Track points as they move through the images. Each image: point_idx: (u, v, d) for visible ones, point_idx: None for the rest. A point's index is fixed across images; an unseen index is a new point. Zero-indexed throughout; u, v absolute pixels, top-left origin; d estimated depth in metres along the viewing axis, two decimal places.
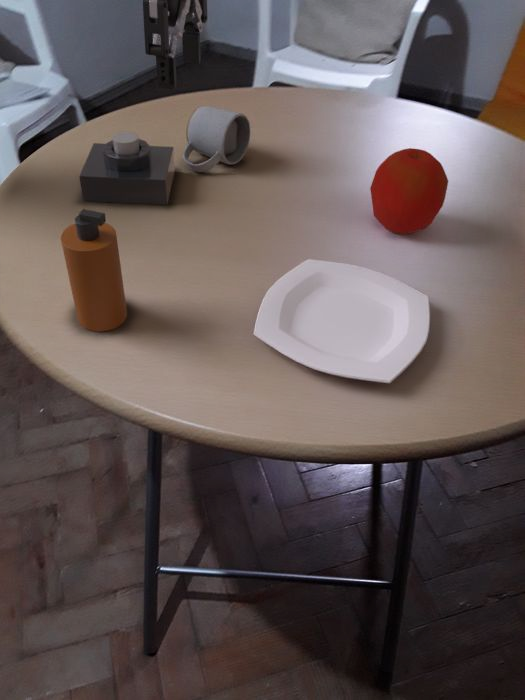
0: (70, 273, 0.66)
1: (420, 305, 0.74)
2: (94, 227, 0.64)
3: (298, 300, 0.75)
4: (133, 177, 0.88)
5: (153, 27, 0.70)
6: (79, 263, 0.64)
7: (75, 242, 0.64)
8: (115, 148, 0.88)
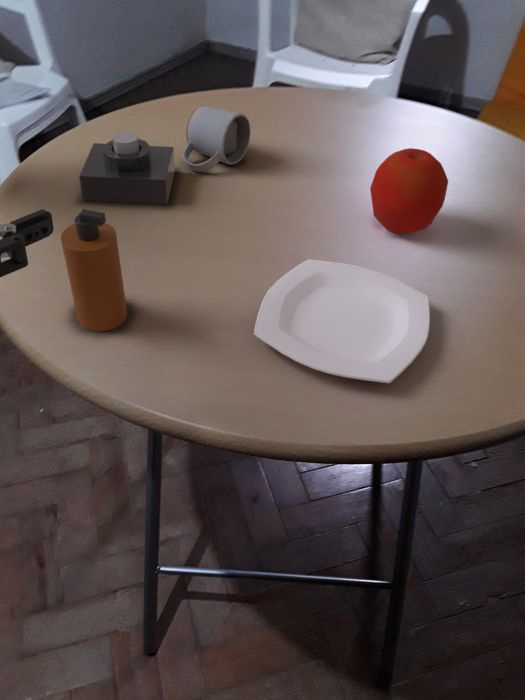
0: (70, 273, 0.66)
1: (420, 305, 0.74)
2: (94, 227, 0.64)
3: (298, 300, 0.75)
4: (133, 177, 0.88)
5: None
6: (79, 263, 0.64)
7: (75, 242, 0.64)
8: (115, 148, 0.88)
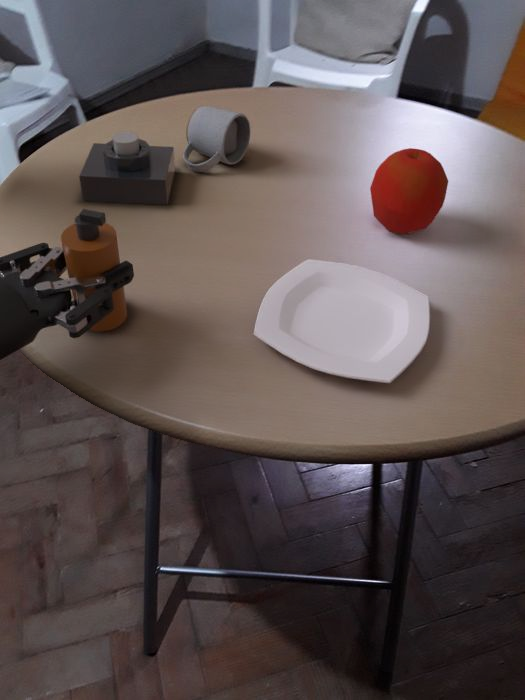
0: (70, 273, 0.66)
1: (420, 305, 0.74)
2: (94, 227, 0.64)
3: (298, 300, 0.75)
4: (133, 177, 0.88)
5: None
6: (79, 263, 0.64)
7: (75, 242, 0.64)
8: (115, 148, 0.88)
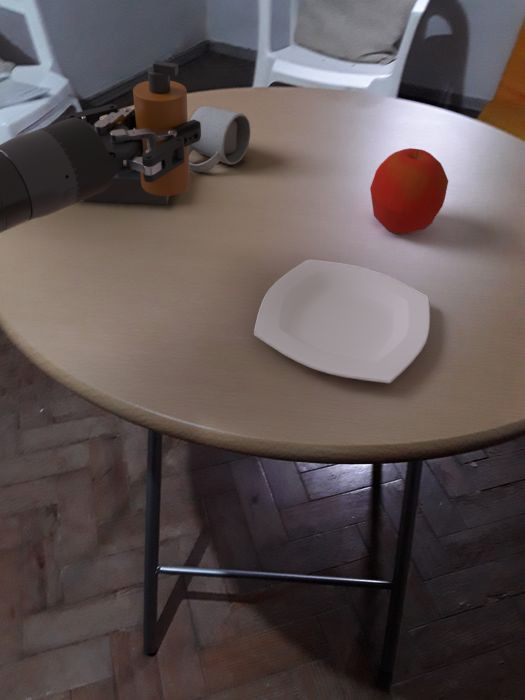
0: None
1: (420, 305, 0.74)
2: (166, 79, 0.65)
3: (298, 300, 0.75)
4: (133, 177, 0.88)
5: None
6: (151, 115, 0.65)
7: (148, 94, 0.65)
8: None
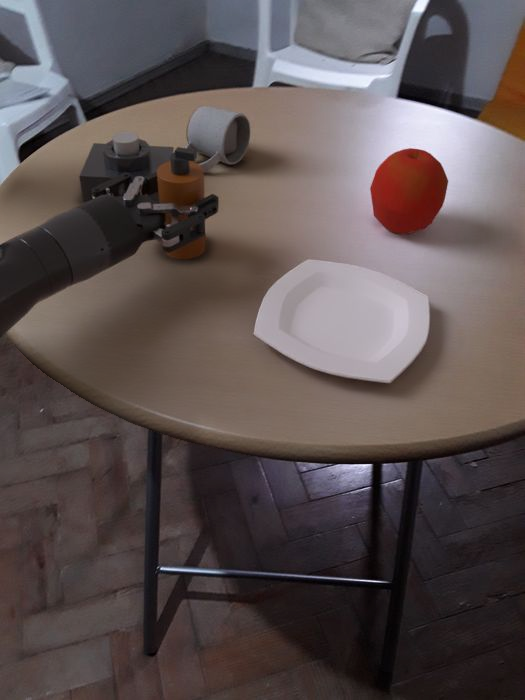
0: None
1: (420, 305, 0.74)
2: (186, 163, 0.74)
3: (298, 300, 0.75)
4: (133, 177, 0.88)
5: None
6: (173, 194, 0.75)
7: (170, 176, 0.74)
8: (115, 148, 0.88)
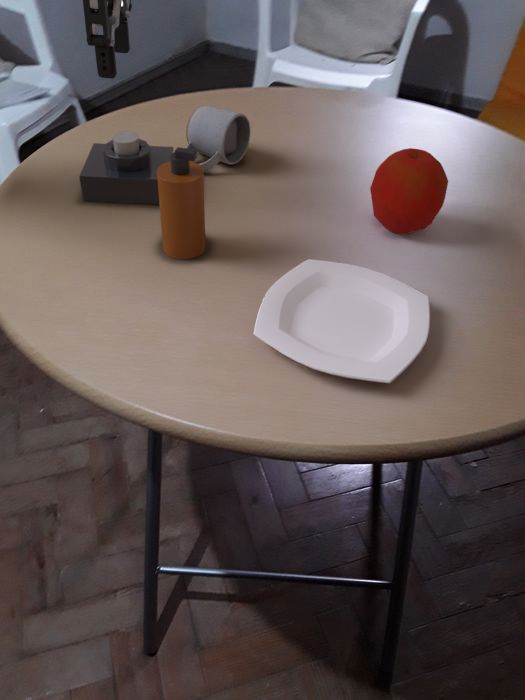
0: (163, 204, 0.77)
1: (420, 305, 0.74)
2: (186, 163, 0.74)
3: (298, 300, 0.75)
4: (133, 177, 0.88)
5: (94, 17, 0.71)
6: (173, 194, 0.75)
7: (170, 176, 0.74)
8: (115, 148, 0.88)
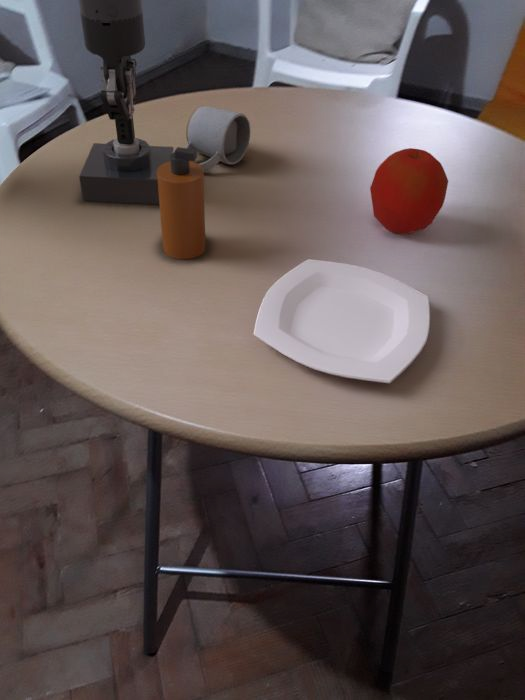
0: (163, 204, 0.77)
1: (420, 305, 0.74)
2: (186, 163, 0.74)
3: (297, 300, 0.75)
4: (133, 177, 0.88)
5: (114, 109, 0.81)
6: (173, 194, 0.75)
7: (170, 176, 0.74)
8: None
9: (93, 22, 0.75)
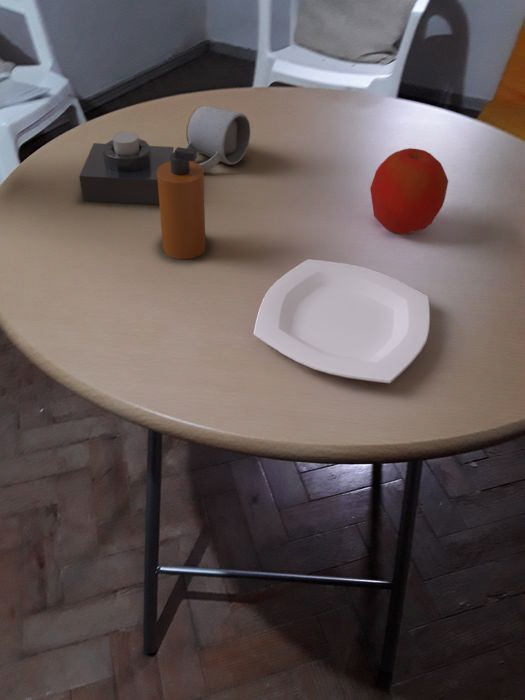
0: (163, 204, 0.77)
1: (420, 305, 0.74)
2: (186, 163, 0.74)
3: (298, 300, 0.75)
4: (133, 177, 0.88)
5: None
6: (173, 194, 0.75)
7: (170, 176, 0.74)
8: (115, 148, 0.88)
9: None
